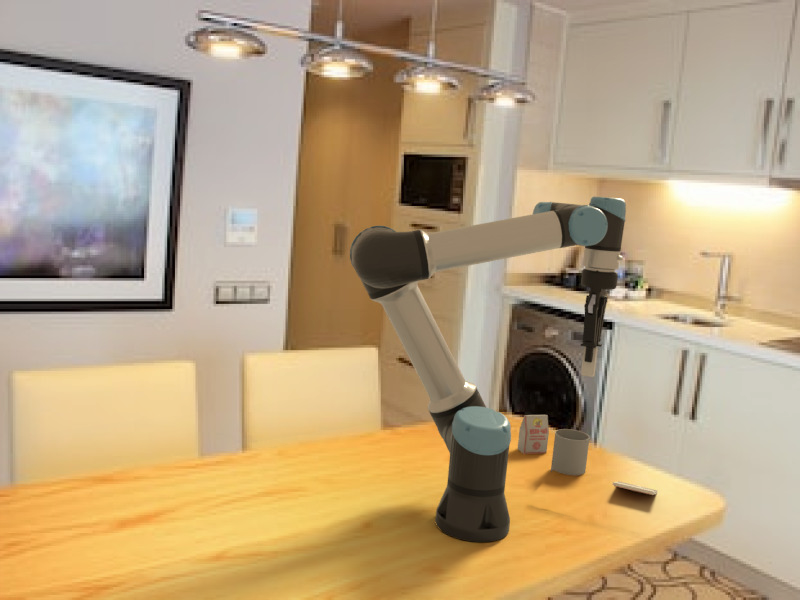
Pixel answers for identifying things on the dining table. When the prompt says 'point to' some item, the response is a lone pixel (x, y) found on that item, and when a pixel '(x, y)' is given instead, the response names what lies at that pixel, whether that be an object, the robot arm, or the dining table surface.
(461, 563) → the dining table surface
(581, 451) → the cup
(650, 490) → the tile
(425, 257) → the robot arm
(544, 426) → the white printed box
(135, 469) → the dining table surface
